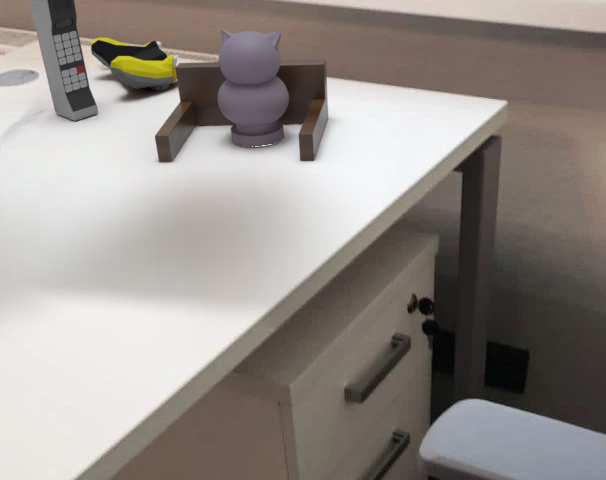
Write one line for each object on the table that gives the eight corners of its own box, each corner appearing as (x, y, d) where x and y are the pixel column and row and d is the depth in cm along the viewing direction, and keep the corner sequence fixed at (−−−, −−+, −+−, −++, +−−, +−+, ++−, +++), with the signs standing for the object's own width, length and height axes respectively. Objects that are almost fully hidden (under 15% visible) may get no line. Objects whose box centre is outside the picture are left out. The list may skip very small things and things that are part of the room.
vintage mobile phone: (74, 122, 115) (24, -103, 99) (55, 114, 118) (4, -105, 102) (99, 114, 117) (53, -108, 101) (79, 106, 120) (32, -110, 104)
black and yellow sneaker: (120, 103, 120) (189, 90, 123) (112, 61, 117) (184, 48, 119) (93, 76, 131) (158, 64, 134) (85, 36, 127) (152, 25, 130)
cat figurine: (211, 147, 105) (197, 39, 97) (238, 124, 111) (227, 21, 103) (276, 152, 102) (267, 42, 95) (301, 129, 108) (295, 23, 100)
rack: (314, 160, 100) (310, 96, 95) (158, 161, 102) (148, 99, 98) (328, 118, 110) (325, 59, 106) (187, 120, 113) (179, 62, 109)
